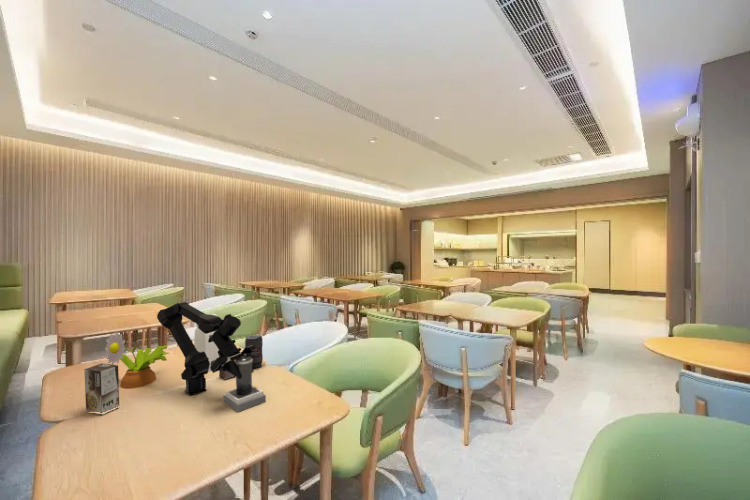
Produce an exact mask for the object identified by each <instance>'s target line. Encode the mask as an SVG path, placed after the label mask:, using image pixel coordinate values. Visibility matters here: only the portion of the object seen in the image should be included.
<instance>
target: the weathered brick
mask: <svg viewBox="0 0 750 500" xmlns="http://www.w3.org/2000/svg"><path fill="white" fill-rule="evenodd" d="M234 361H235V363H236V360H234ZM252 366H253V359H252ZM218 373H219V375H218V377H219V378H220V379H222V380H224V379H226V380H228V378H229V379H232V378H234V375H233V374H231V373H229V372H227V371H222V372H221V371H220V370H219V371H218ZM231 377H232V378H231ZM235 378H236V376H235Z"/></svg>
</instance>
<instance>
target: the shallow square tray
mask: <svg viewBox="0 0 750 500" xmlns="http://www.w3.org/2000/svg"><path fill="white" fill-rule="evenodd" d="M224 393H225V395H223V403H224V404H225V405H226V406H228V407H230V408H231V409H232V410H233V411H235V412H237V413H240V412H242V411H245V410H249V409H251V408H253V407H255V406H256V407H257V406H258V405H262V404H264V403H266V401H267V398H266V397H267V396H266V394H265V393H264V390H262V389H260V388H259V387H257V386H256V385H253V384H252V392H251V393H249V394H247V395H237V394H236V388H235V389H232V390H228V391H225V392H224Z"/></svg>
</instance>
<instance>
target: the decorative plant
mask: <svg viewBox="0 0 750 500" xmlns="http://www.w3.org/2000/svg"><path fill="white" fill-rule="evenodd" d="M114 334H115V335H114ZM114 334H111V333H110V334H109V337H108V338H106V339H105V342H106V345H105V346H106V347H105V348H104V351H105V353H106V354H105V357H106V359H107V360H108V362H107V364H110V363H111V365H115V364H116V365H118V364H119V363H120V362H122V363H123V365H125V366H126V367H127V370H126V371H125V374H124V375H123V377H122V378H121V382H120V384H119V388H121V389H125V390H129V389H137V388H142V387H146V386H149V385H151V384H153V383H155V382H156V381H157V377H156V373H155V372H154V370H152V369H151V366H150V365H151V364H154V363H156V361H158V360H161V361H162V362H165V361H168V359H167V357H166V356H165V355H169V354H170V352H165V351H164V350H165V349H166V348H168V345H167V344H166V345H165V344H164V345H163V346H161V345H157V347H155V349H154V350H153V351H152V349H153V348H152V347H146V348H145V349H144V350H143V349H142V348H141V349H139V348H138V349H137V344H134V346H133V347H132V348H133V349H132V350H130V349H128V347H125V343H126V340H125V339H123V333H120V334H119V333H118V330H116V331H115V333H114ZM125 350H127V351H128V352H130V353H131V354H132V356H133V358H134V361H133V360H132V359H130V357H128V355H127V354H123V353H124V351H125ZM136 350H137V351H136ZM135 351H136V352H137V353H136V355H135ZM151 351H152V352H151Z"/></svg>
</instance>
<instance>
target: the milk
mask: <svg viewBox="0 0 750 500" xmlns="http://www.w3.org/2000/svg"><path fill="white" fill-rule="evenodd" d="M210 315H215V316H218V315H217V313H212V314H210ZM214 332H215V331H214ZM214 332H211V333H207V334H205V333H203V332H202V331H201V330H200V329H199V328H198V326H196V328H195V330H194V336H193V337H194V338H193V339H194V342H193V344H194V346H195V348H196V349H197V351H199V352H203V351H204V352H205V353H206V356H207V357H208V358H209V359H208V360H209V362H210V366H211V361H214V360H216V358H219V355H218V350H219V349H218V348H217V346H216V345H215V343H214V342H210V343H209V342H208V340H209V336H210V335H213V333H214ZM210 366H209V370H208V373H210V372H212V371H211V369H210Z"/></svg>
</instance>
